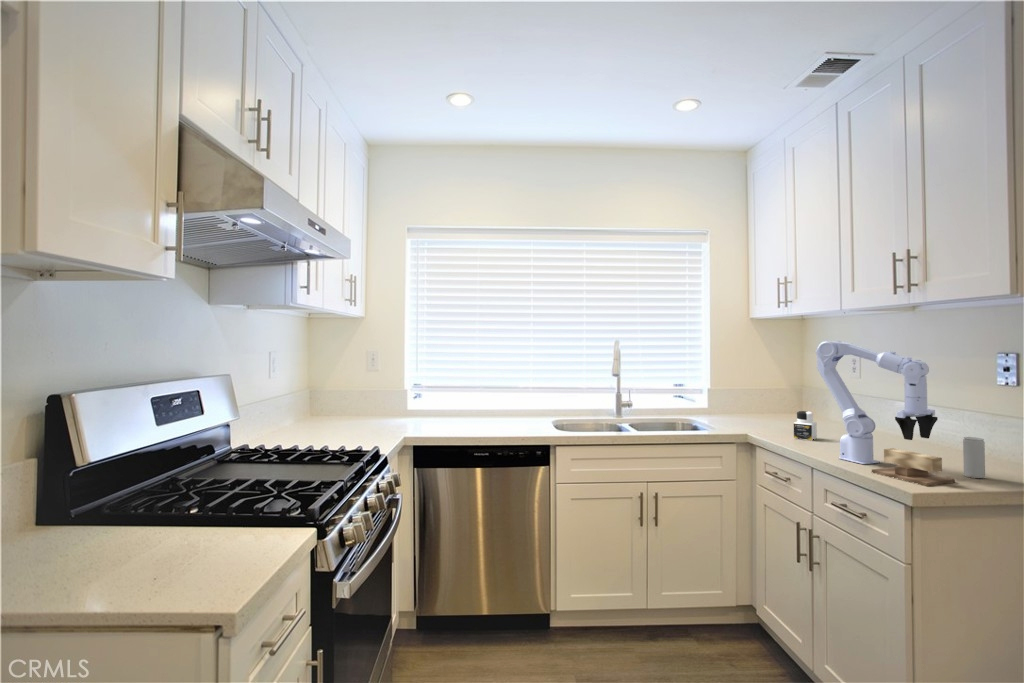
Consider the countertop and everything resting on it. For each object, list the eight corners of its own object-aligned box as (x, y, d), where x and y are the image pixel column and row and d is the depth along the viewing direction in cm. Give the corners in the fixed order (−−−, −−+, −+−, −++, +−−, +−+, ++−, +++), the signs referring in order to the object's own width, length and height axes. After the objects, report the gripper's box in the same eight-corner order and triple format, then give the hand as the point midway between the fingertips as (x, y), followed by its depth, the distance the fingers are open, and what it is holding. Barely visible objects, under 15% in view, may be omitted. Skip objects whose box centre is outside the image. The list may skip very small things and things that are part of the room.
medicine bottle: (793, 438, 212) (793, 411, 212) (798, 436, 217) (798, 409, 217) (812, 441, 207) (811, 413, 207) (817, 438, 212) (816, 411, 212)
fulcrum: (871, 472, 156) (871, 461, 156) (898, 469, 159) (898, 458, 159) (926, 486, 141) (926, 474, 141) (955, 482, 144) (954, 470, 144)
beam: (884, 461, 156) (883, 449, 156) (893, 460, 157) (892, 448, 157) (932, 472, 143) (932, 458, 143) (942, 471, 144) (941, 457, 144)
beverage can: (978, 479, 146) (977, 440, 147) (959, 475, 151) (959, 437, 151) (989, 478, 148) (988, 439, 148) (970, 474, 152) (969, 436, 152)
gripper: (913, 399, 152) (913, 442, 152) (945, 397, 156) (946, 439, 156) (889, 397, 159) (890, 438, 159) (921, 395, 163) (922, 435, 163)
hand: (916, 438), depth 158 cm, fingers open, 7 cm apart
